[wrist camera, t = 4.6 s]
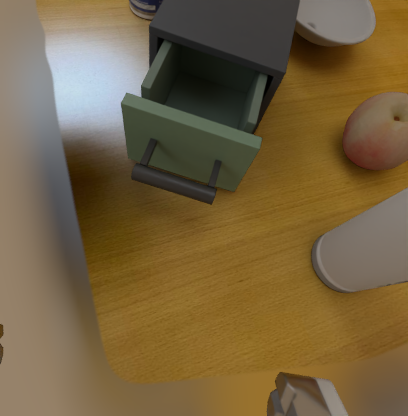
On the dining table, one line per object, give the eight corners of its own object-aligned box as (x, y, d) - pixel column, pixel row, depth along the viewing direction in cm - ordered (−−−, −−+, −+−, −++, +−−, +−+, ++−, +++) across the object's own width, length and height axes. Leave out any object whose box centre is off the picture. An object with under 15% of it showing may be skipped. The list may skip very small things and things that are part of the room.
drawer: (224, 228, 28) (249, 194, 21) (111, 193, 27) (98, 145, 20) (257, 99, 35) (283, 42, 28) (168, 70, 35) (173, 3, 28)
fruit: (316, 145, 35) (359, 97, 28) (352, 117, 38) (399, 67, 31) (365, 192, 34) (424, 154, 26) (398, 159, 37) (460, 117, 29)
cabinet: (251, 138, 34) (285, 72, 25) (149, 104, 33) (148, 25, 25) (270, 58, 40) (303, -17, 31) (184, 29, 39) (194, -56, 31)
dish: (252, -10, 46) (264, -47, 41) (332, -1, 49) (350, -35, 44) (278, 72, 39) (294, 39, 35) (367, 76, 42) (394, 46, 38)
